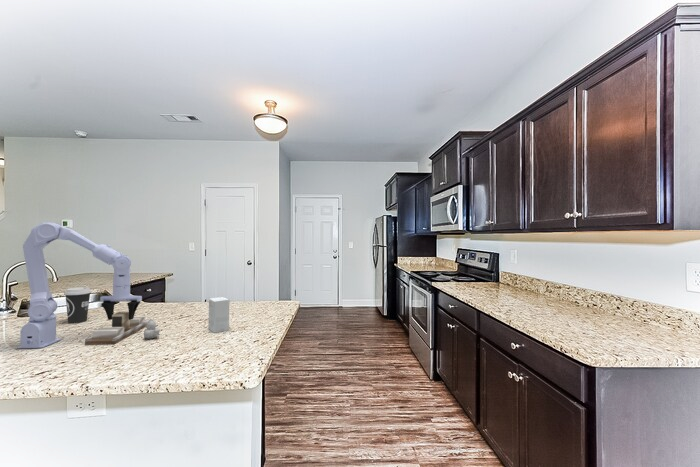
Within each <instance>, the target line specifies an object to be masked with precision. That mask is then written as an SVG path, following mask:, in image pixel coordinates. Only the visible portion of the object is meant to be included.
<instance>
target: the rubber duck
mask: <svg viewBox="0 0 700 467" xmlns="http://www.w3.org/2000/svg"><path fill="white" fill-rule="evenodd" d="M149 320H150V321H148V323H147V325H146V327H145V328H146V329H144V330H143V337H144V338H145V339H146V340H147V339H151V340H152V339H154V338H156V337H159V336H160V332H161V329H160V328H157V322H156V321H155V320H154V319H152V318H151V317H150V318H149Z"/></svg>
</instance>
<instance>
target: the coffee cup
mask: <svg viewBox="0 0 700 467" xmlns="http://www.w3.org/2000/svg"><path fill="white" fill-rule="evenodd" d="M91 293H92V290H91V288H90V287H89V286H81V287H80V286H79V287H70V288H69V287H68V288H67V289H66V290H65V291H64V294H63V295H64V296H65V302H66V304H65V306H66V314H67V323H68V324H80V323H86V322H87V321H88V313H89V305H90V298H91Z"/></svg>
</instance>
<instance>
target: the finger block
mask: <svg viewBox="0 0 700 467" xmlns="http://www.w3.org/2000/svg"><path fill="white" fill-rule="evenodd" d="M111 327H124V331H126V330H128V329H130V320H129V311H119V312H118V311H117V312H116V313H114V314H113V315H112V319H111Z"/></svg>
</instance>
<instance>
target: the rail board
mask: <svg viewBox="0 0 700 467" xmlns="http://www.w3.org/2000/svg"><path fill="white" fill-rule="evenodd" d="M148 321H150V319H148V320H146V316H144V315H143V316H142V315H141V316H137V315H136V316H134V318H133V319H131V320H130V329H128V330H126V331H124V327H112V326H107V327H105V326H103V327H102V326H101V327H99V328H96V329H94V330H92V335H91V336H90V337H87V338H85V339H84V345H85V346H94V345H96V346H98V345H116V344H118V343H120V342H121V341H123V340H125V339H127V338H128V337H130V336H132V335H133V334H136V333H137V332H140V331H141V330H143V329H144V328H146V325H147V323H148Z"/></svg>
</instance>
